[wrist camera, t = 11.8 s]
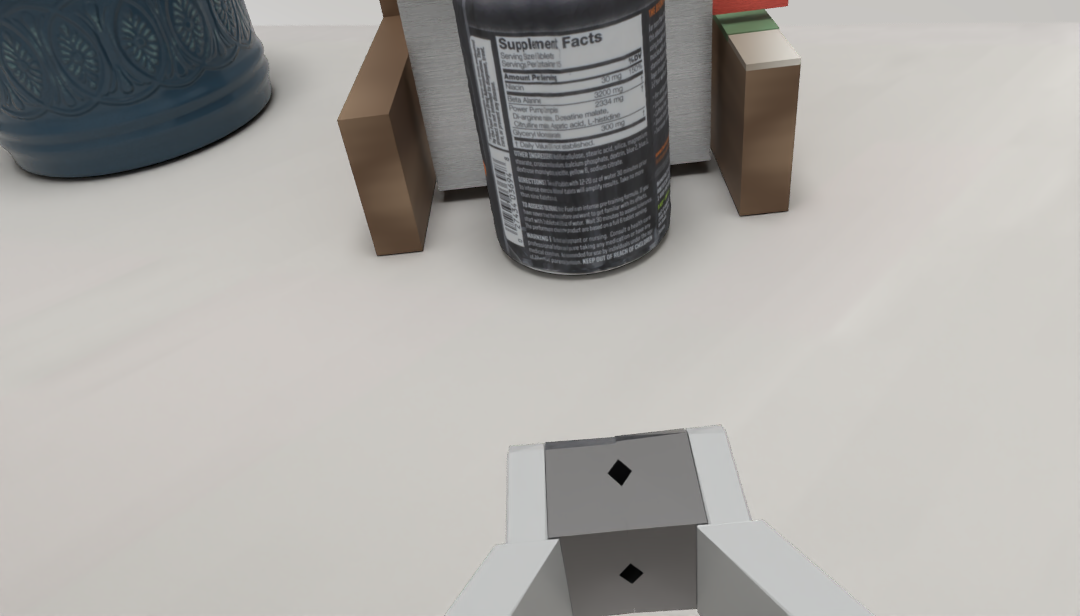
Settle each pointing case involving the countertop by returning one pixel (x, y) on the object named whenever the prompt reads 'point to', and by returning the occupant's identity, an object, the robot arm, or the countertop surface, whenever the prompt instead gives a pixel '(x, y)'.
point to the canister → (124, 81)
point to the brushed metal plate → (450, 102)
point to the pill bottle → (571, 127)
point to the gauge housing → (736, 139)
